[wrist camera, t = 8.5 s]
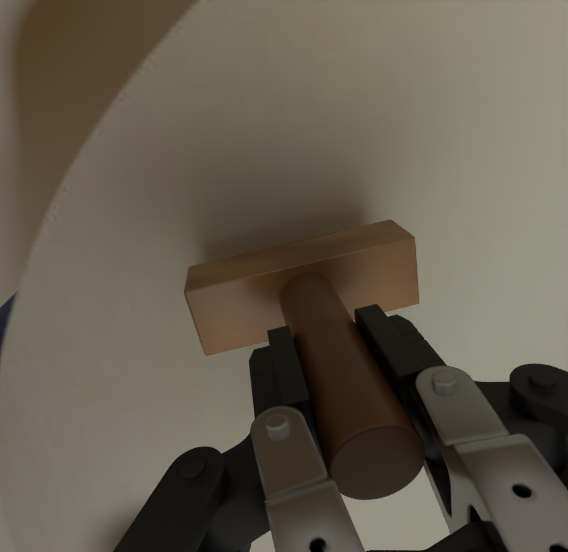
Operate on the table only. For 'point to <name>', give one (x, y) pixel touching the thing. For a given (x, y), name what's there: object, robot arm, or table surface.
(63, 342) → the table surface
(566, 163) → the table surface
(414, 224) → the table surface
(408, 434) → the wooden rubber stamp
